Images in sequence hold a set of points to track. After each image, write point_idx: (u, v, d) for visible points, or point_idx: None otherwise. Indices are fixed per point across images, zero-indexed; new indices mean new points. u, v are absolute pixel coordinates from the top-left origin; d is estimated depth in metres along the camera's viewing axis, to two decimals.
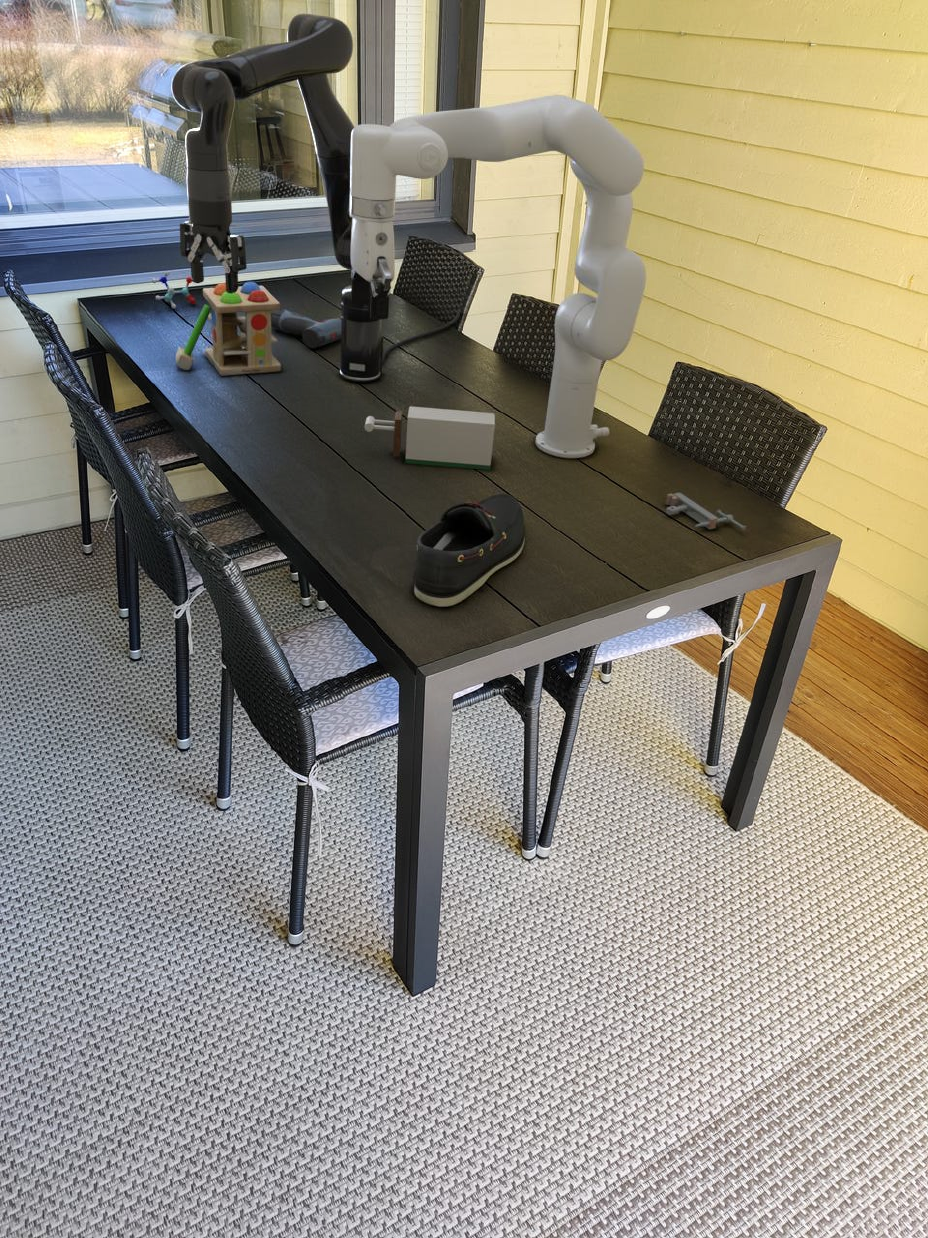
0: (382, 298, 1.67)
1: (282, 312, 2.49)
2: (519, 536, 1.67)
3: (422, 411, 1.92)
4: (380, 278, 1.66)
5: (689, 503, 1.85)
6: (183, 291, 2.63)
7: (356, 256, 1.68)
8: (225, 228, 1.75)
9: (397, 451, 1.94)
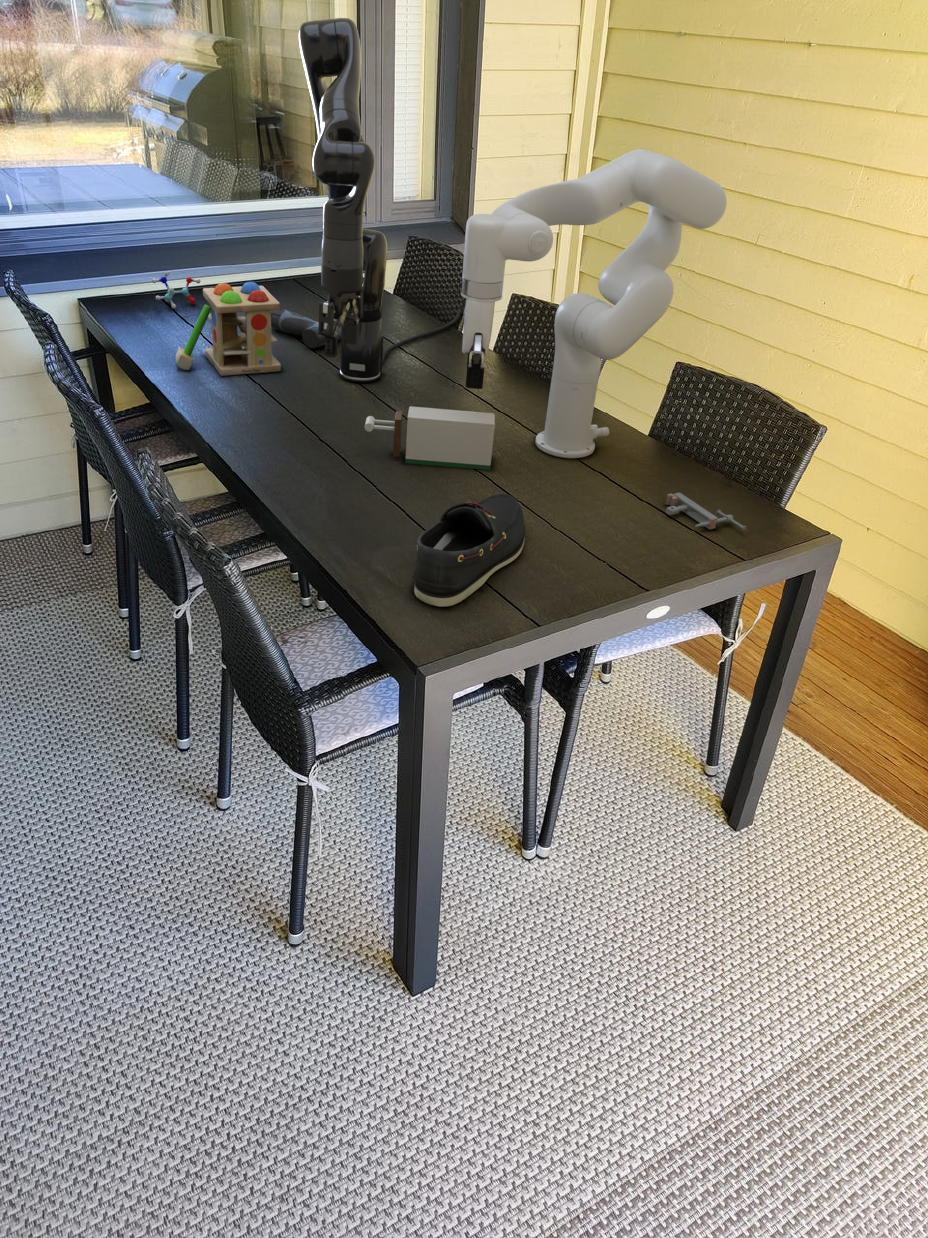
0: None
1: (282, 312, 2.49)
2: (519, 536, 1.67)
3: (422, 411, 1.92)
4: None
5: (689, 503, 1.85)
6: (183, 291, 2.63)
7: None
8: None
9: (397, 451, 1.94)
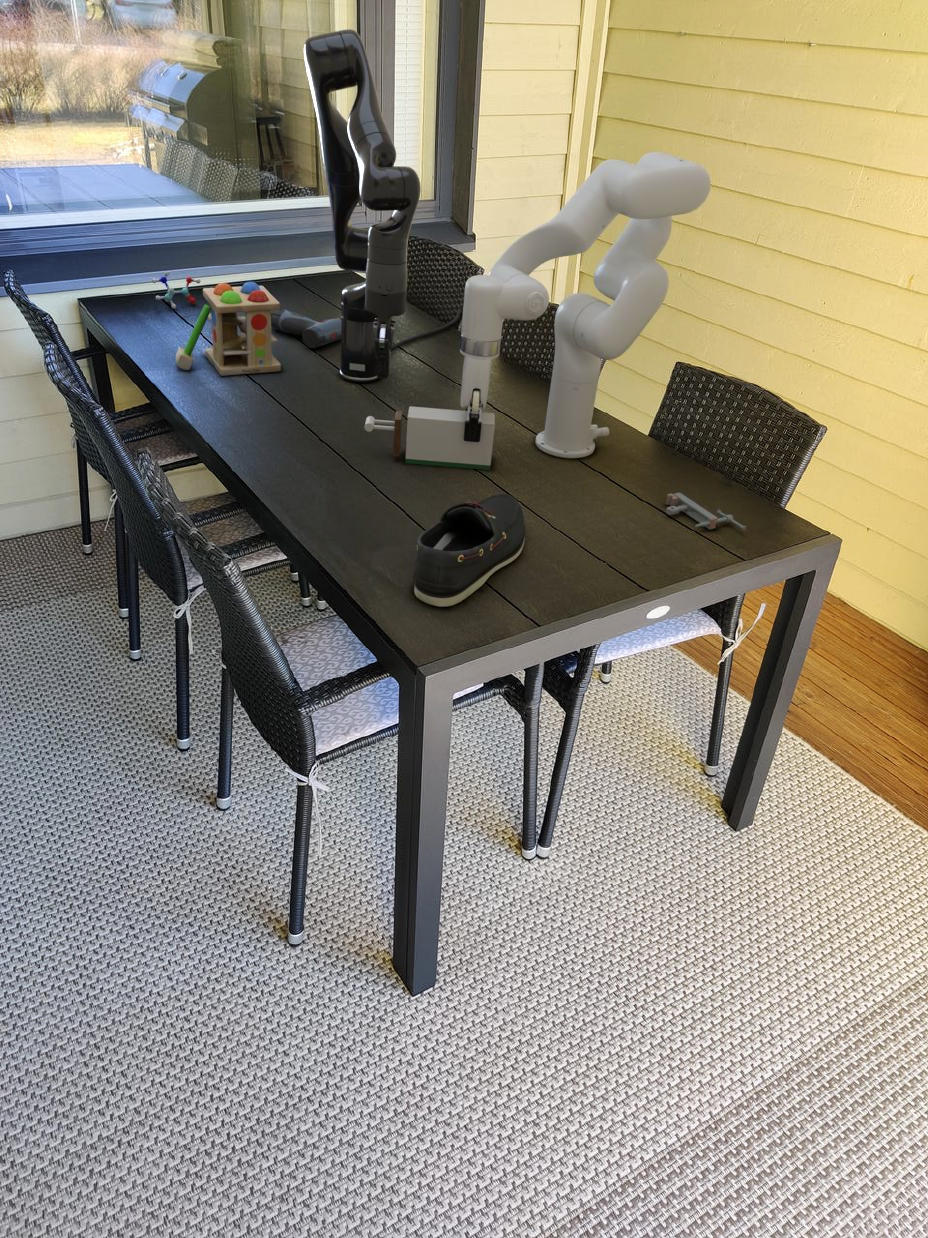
0: None
1: (282, 312, 2.49)
2: (519, 536, 1.67)
3: (422, 411, 1.92)
4: None
5: (689, 503, 1.85)
6: (183, 291, 2.63)
7: None
8: None
9: (397, 451, 1.94)
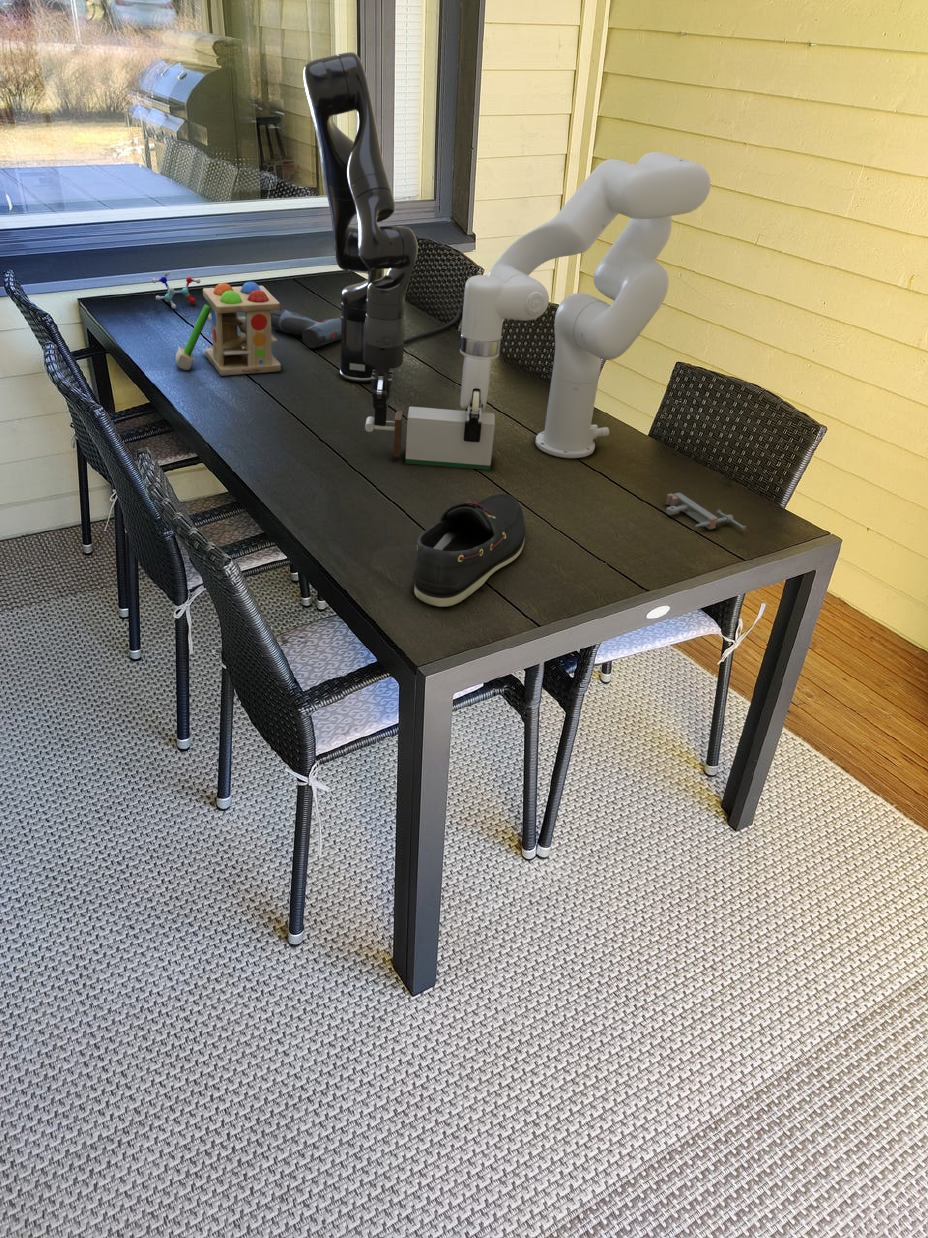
0: None
1: (282, 312, 2.49)
2: (519, 536, 1.67)
3: (422, 411, 1.92)
4: None
5: (689, 503, 1.85)
6: (183, 291, 2.63)
7: None
8: None
9: (397, 451, 1.94)
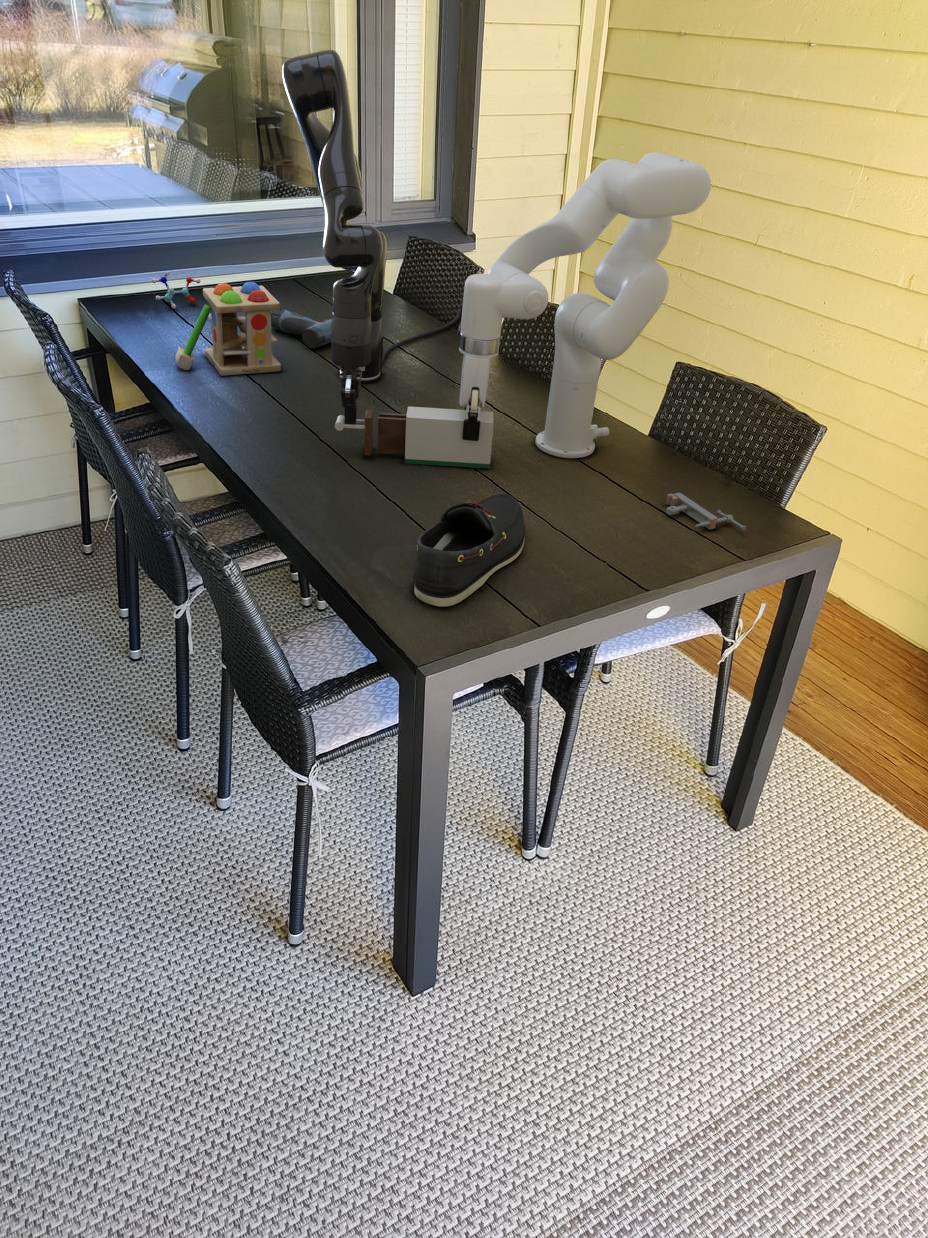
0: None
1: (282, 312, 2.49)
2: (519, 536, 1.67)
3: (421, 411, 1.92)
4: None
5: (689, 503, 1.85)
6: (183, 291, 2.63)
7: None
8: None
9: (368, 450, 1.94)
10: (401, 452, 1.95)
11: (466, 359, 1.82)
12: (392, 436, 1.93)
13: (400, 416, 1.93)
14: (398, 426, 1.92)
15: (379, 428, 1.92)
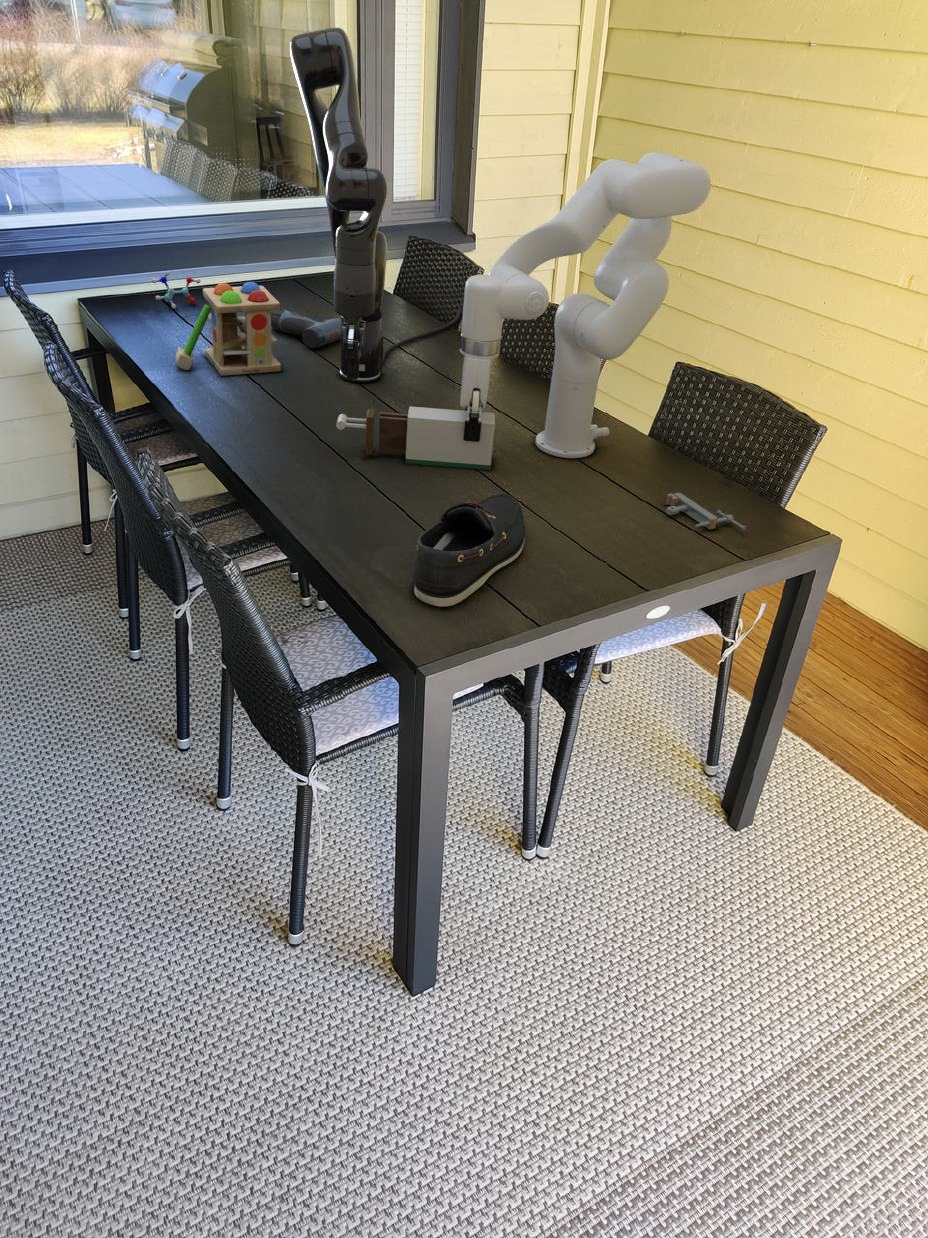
0: None
1: (282, 312, 2.49)
2: (519, 536, 1.67)
3: (422, 411, 1.92)
4: None
5: (689, 503, 1.85)
6: (183, 291, 2.63)
7: None
8: None
9: (369, 449, 1.94)
10: (402, 452, 1.95)
11: (467, 360, 1.82)
12: (394, 436, 1.93)
13: (401, 416, 1.93)
14: (399, 426, 1.92)
15: (380, 428, 1.92)
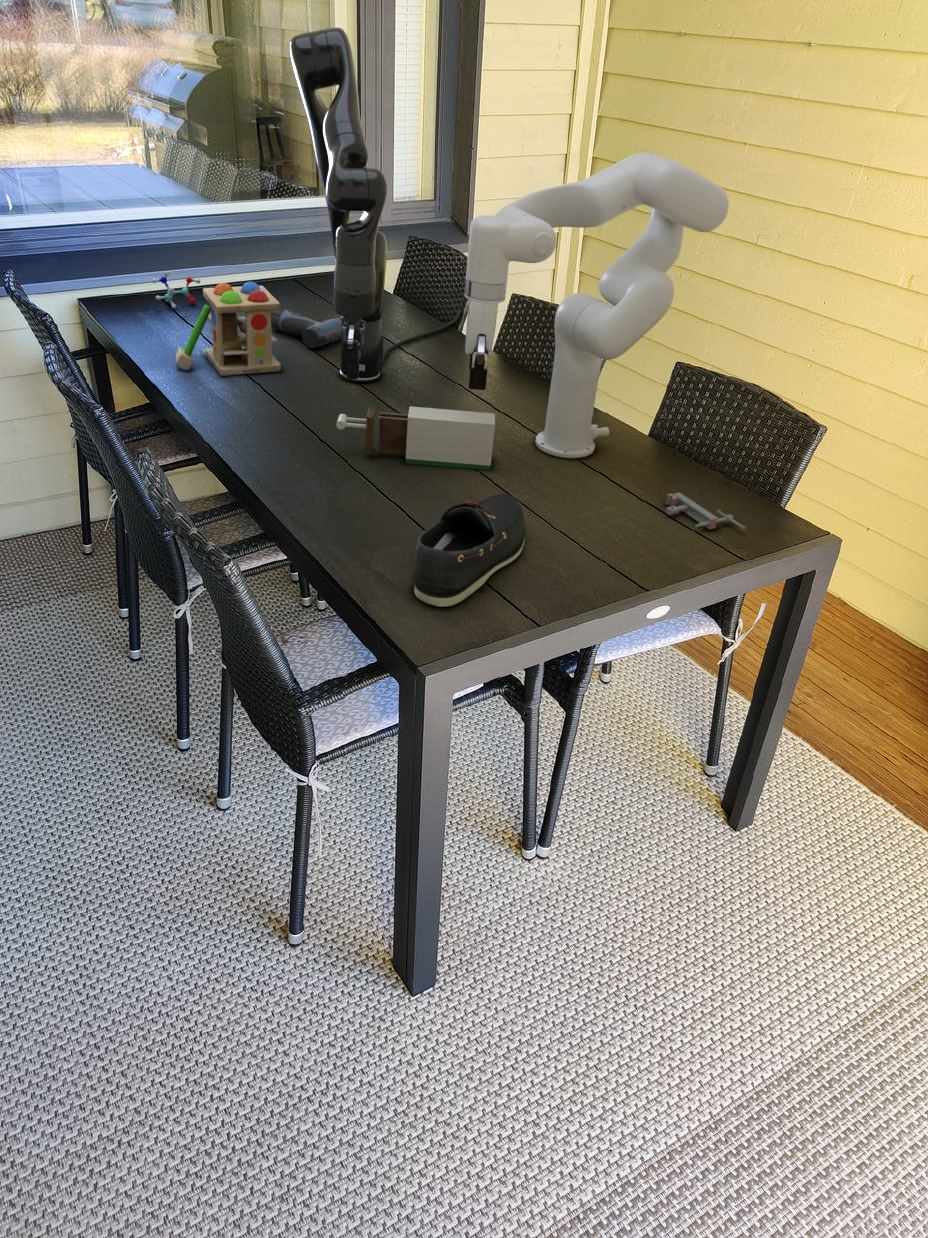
0: None
1: (282, 312, 2.49)
2: (519, 536, 1.67)
3: (422, 411, 1.92)
4: None
5: (689, 503, 1.85)
6: (183, 291, 2.63)
7: None
8: None
9: (369, 449, 1.94)
10: (402, 452, 1.95)
11: (472, 305, 1.76)
12: (394, 435, 1.93)
13: (402, 416, 1.93)
14: (400, 426, 1.92)
15: (380, 427, 1.92)
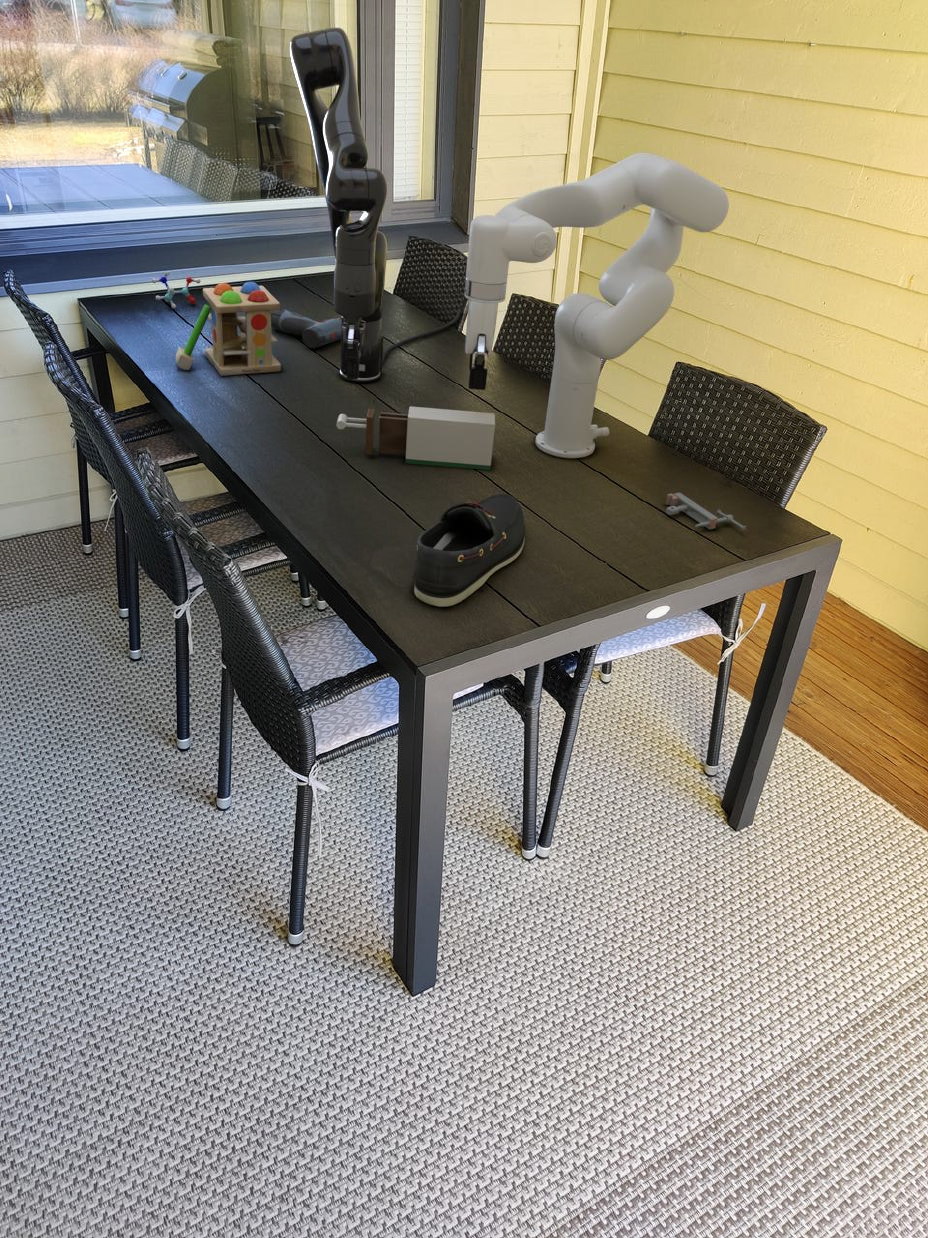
0: None
1: (282, 312, 2.49)
2: (519, 536, 1.67)
3: (422, 411, 1.92)
4: None
5: (689, 503, 1.85)
6: (183, 291, 2.63)
7: None
8: None
9: (369, 449, 1.94)
10: (402, 452, 1.95)
11: (472, 304, 1.76)
12: (394, 435, 1.93)
13: (402, 416, 1.93)
14: (400, 426, 1.92)
15: (380, 427, 1.92)
